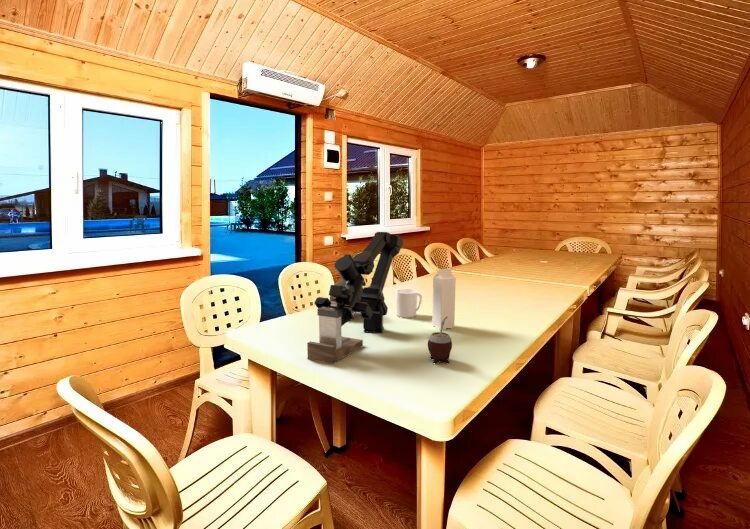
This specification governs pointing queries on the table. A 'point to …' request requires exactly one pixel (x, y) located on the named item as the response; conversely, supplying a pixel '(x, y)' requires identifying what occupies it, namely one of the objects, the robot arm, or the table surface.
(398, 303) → the mug
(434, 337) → the mate gourd
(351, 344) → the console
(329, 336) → the fader tab
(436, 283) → the milk
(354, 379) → the table surface
